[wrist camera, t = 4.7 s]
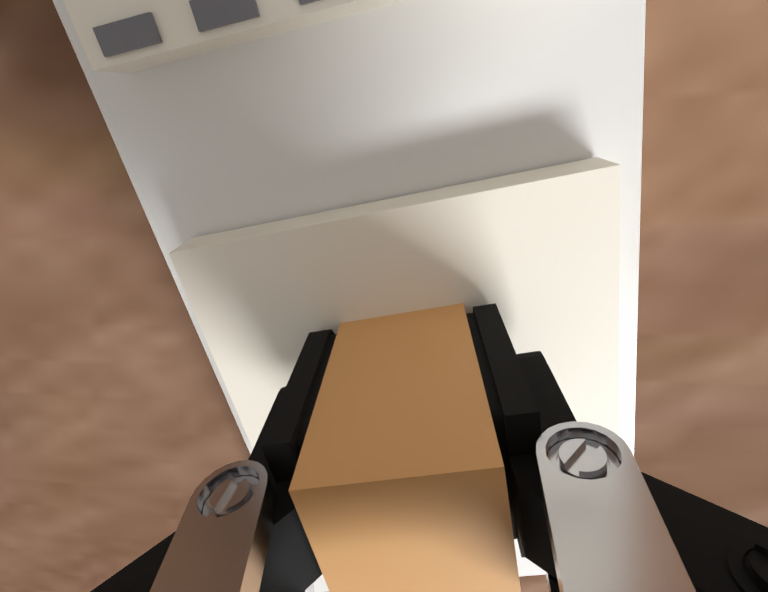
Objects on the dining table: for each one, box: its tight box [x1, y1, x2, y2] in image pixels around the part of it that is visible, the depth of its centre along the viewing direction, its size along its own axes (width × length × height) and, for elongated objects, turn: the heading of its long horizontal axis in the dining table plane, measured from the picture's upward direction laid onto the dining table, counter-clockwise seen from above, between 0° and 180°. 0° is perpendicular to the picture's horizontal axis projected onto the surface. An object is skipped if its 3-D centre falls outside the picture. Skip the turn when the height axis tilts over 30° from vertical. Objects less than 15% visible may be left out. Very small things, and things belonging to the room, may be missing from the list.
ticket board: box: [52, 0, 646, 592], centre depth 11 cm, size 12×29×2 cm, turn 12°
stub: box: [169, 157, 620, 592], centre depth 9 cm, size 10×8×6 cm
